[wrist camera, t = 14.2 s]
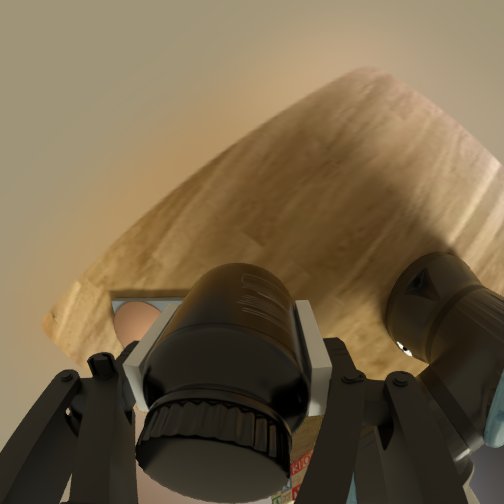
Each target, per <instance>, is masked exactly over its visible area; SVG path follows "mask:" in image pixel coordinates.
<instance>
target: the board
mask: <svg viewBox="0 0 504 504" xmlns="http://www.w3.org/2000/svg"><path fill="white" fill-rule="evenodd" d="M184 299H185V297H167V298H115V299H113V300H112V301H111V302H112V306H113V310H114V314H115V318H114V329H115V332H116V335H117V337H118V339H119V341H120V343H121V344H122V345H123V346H124V349H125V347H126V346H127V345H128V344H130V343H131V342H133V341H134V340H136V341H140V340H141V339H142V338H143V336H144V335H145V334H146V332H147V331H148V330H149V328H150V327H151V326H152V324H153V323H154V322H155V320H156V319H157V318H158V317H159V315H160V314H161V313H162V311H163V310H164V309H165V307H166V306H167V305H168V304H180V305H181V303H182V302H183V300H184Z"/></svg>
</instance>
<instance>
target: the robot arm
mask: <svg viewBox="0 0 504 504" xmlns="http://www.w3.org/2000/svg"><path fill="white" fill-rule="evenodd" d="M179 306H180V304H168V305H167V306H166V307H165V309H164V310H163V311H162V313H161V314H160V315H159V317H158V318H157V319H156V320H155V322H154V323H153V324H152V326H151V327H150V328H149V330H148V331H147V332H146V334H145V335H144V336H143V338H142V339H141V340H140V341H136V340H134V341H133V342H131V343H130V344H128V345H127V346H126V347H125V349H124V350H123V351H122V353H121V354H120V356H118V358H117V359H116V360H115V358H114V356H113V355H112V354H111V353H108V352H101V353H97V354H94V355H92V356H91V357H89V359H88V360H87V362H88V365H89V367H90V370H91V372H92V375H93V377H92V378H80V376H79V374H78V372H77V371H75V370H72V369H71V370H63V371H62V372H60V373H58V374H57V375H56V376H55V378H54V379H53V380H52V381H51V383H50V384H49V385H48V386H47V388H46V389H45V390H44V392H43V393H42V394H41V396H40V397H39V398H38V400H37V401H36V402H35V404H34V405H33V406H32V408H31V409H30V410H29V412H28V413H27V415H26V416H25V417H24V419H23V420H22V422H21V423H20V424H19V426H18V427H17V429H16V430H15V432H14V433H13V435H12V436H11V437H10V439H9V440H8V442H7V443H6V445H5V446H4V448H3V450H2V451H1V453H0V504H59V503H60V500H61V498H62V495H63V493H64V490H65V488H66V486H67V483H68V481H69V478H70V476H71V474H72V478H71V487H70V497H69V500H68V501H67V502H62V503H60V504H138V497H137V496H138V495H137V480H136V458H135V412H134V409H133V407H134V405H135V403H137V406H138V408H139V411H145V412H149V410H148V408H147V406H146V404H145V401H144V397H143V393H142V385H141V377H142V371H143V367H144V364H145V362H146V359H147V357H148V356H149V354H150V352H151V350H152V348H153V347H154V345H155V344H156V342H157V340H158V339H159V337H160V336H161V334H162V333H163V331H164V329H165V328H166V326H167V325H168V323H169V322H170V320H171V319H172V317H173V316H174V314H175V312H176V311H177V309H178V308H179ZM295 312H296V317H297V321H298V326H299V331H300V335H301V340H302V345H303V349H304V354H305V359H306V364H307V369H308V374H309V379H310V387H311V402H310V407H309V410H308V416H317V415H324V418H323V421H322V424H321V428H320V431H319V434H318V438H317V441H316V444H315V447H314V450H313V453H312V456H311V459H310V462H309V464H308V467H307V470H306V473H305V476H304V478H303V481H302V484H301V486H300V489H299V491H298V494H297V496H296V499H295V501H294V504H480V503H479V501H478V500H477V498H476V496H475V494H474V493H473V491H472V490H471V488H470V486H469V482H470V480H471V477H472V475H473V473H474V464H473V463H472V461H471V460H470V458H469V456H470V455H471V454H472V453H473V452H474V451H476V450H477V449H478V448H479V447H480V446H481V445H483V444H484V443H486V445H487V446H491V447H493V448H497V447H499V446H502V445H503V444H504V297H502V296H501V295H499V294H497V293H495V292H493V291H492V290H490V289H488V288H486V287H484V286H483V285H482V284H481V282H480V281H479V280H478V278H477V277H476V276H475V274H474V273H473V272H472V271H471V269H470V268H469V266H468V265H467V264H466V263H465V262H464V261H462V260H461V259H459V258H457V257H455V256H453V255H450V254H448V253H443V252H436V253H431V254H428V255H425V256H423V257H421V258H420V259H418V260H417V261H415V262H414V263H413V264H411V265H410V266H409V267H408V268H407V269H406V270H405V271H404V273H403V274H402V275H401V276H400V278H399V279H398V281H397V282H396V284H395V286H394V288H393V290H392V292H391V295H390V297H389V301H388V304H387V310H386V325H387V329H388V332H389V335H390V337H391V338H392V340H393V341H394V342H395V344H396V345H397V346H398V347H399V349H400V350H402V351H403V352H404V353H406V354H408V355H410V356H412V357H414V358H416V359H418V360H421V361H423V362H425V363H427V364H429V366H428V367H427V368H426V369H425V370H423V371H422V372H421V373H420V374H419V375H417V376H416V377H414V376H413V375H412V374H410V373H408V372H404V371H395V372H392V373H390V374H389V375H387V377H386V379H385V381H383V380H371V379H367V378H366V375H365V374H364V373H363V372H361V371H359V370H357V369H356V367H355V365H354V363H353V361H352V359H351V356H350V354H349V352H348V350H347V348H346V346H345V344H344V342H343V341H342V340H340V339H339V338H338V337H335V338H324V339H322V336H321V333H320V330H319V328H318V325H317V322H316V319H315V317H314V314H313V311H312V308H311V306H310V303H309V300H297V301H295ZM67 408H69V410H70V413H69V415H67V414H66V410H67Z"/></svg>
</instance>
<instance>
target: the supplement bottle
mask: <svg viewBox="0 0 504 504" xmlns="http://www.w3.org/2000/svg"><path fill="white" fill-rule="evenodd" d="M141 385H142V393H143V397H144V401H145V404H146V406H147V408H148V410H149V412H148V414H147V416H146V419H145V422H144V428H143V430H142V432H141V434H140V436H139V439H138V442H137V444H136V447H135V453H136V456H135V458H136V460H137V461H138V462H139V466H140V467H141V468H142V469H143V471H144V472H145V473H146V474H147V475H149V476H150V477H151V479H153V480H155V481H157V482H158V483H159V484H160V485H162V486H164V487H166V488H168V489H170V490H171V491H174V492H177V493H179V494H181V495H183V496H187V497H190V498H193V499H197V500H202V501H206V502H215V503H229V504H235V503H248V502H255V501H258V500H261V499H266V498H268V497H269V496H273V495H276V493H277V492H279V491H281V490H283V487H284V486H286V485H287V484H288V480H289V478H290V476H291V464H290V452H291V449H292V435H293V434H294V433H295V432H296V431H297V430H298V429H299V427H300V426H301V424H302V423H303V421H304V420H305V417H306V415H307V413H308V410H309V407H310V402H311V387H310V379H309V374H308V369H307V364H306V359H305V354H304V349H303V345H302V340H301V335H300V331H299V326H298V321H297V317H296V312H295V309H294V305H293V301H292V298H291V296H290V294H289V292H288V290H287V288H286V287H285V285H284V284H283V283H282V282H281V281H280V280H279V279H278V278H277V277H276V276H275V275H273V274H272V273H270V272H269V271H267V270H265V269H263V268H261V267H258V266H255V265H251V264H245V263H231V264H225V265H222V266H218V267H216V268H214V269H212V270H210V271H208V272H207V273H205V274H204V275H203V276H202V277H201V278H200V279H199V280H198V281H197V282H196V283H195V284H194V286H193V287H192V288H191V290H190V291H189V293H188V294H187V296H186V297H185V299H184V300H183V302H182V303H181V305H180V306H179V308H178V309H177V311H176V312H175V314H174V316H173V317H172V319H171V320H170V322H169V323H168V325H167V326H166V328H165V329H164V331H163V333H162V334H161V336H160V337H159V339H158V340H157V342H156V344H155V345H154V347H153V348H152V350H151V352H150V354H149V356H148V357H147V359H146V362H145V364H144V367H143V371H142V377H141Z"/></svg>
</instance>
